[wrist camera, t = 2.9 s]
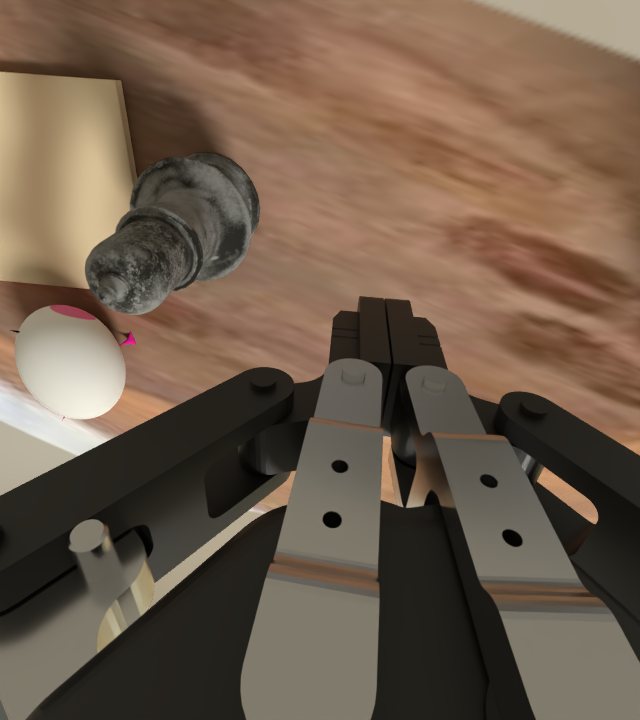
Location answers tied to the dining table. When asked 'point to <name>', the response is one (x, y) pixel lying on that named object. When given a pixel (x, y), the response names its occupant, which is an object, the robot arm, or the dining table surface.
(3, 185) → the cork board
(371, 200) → the dining table surface
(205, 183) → the grey chess piece
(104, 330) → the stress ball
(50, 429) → the dining table surface
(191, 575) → the robot arm
